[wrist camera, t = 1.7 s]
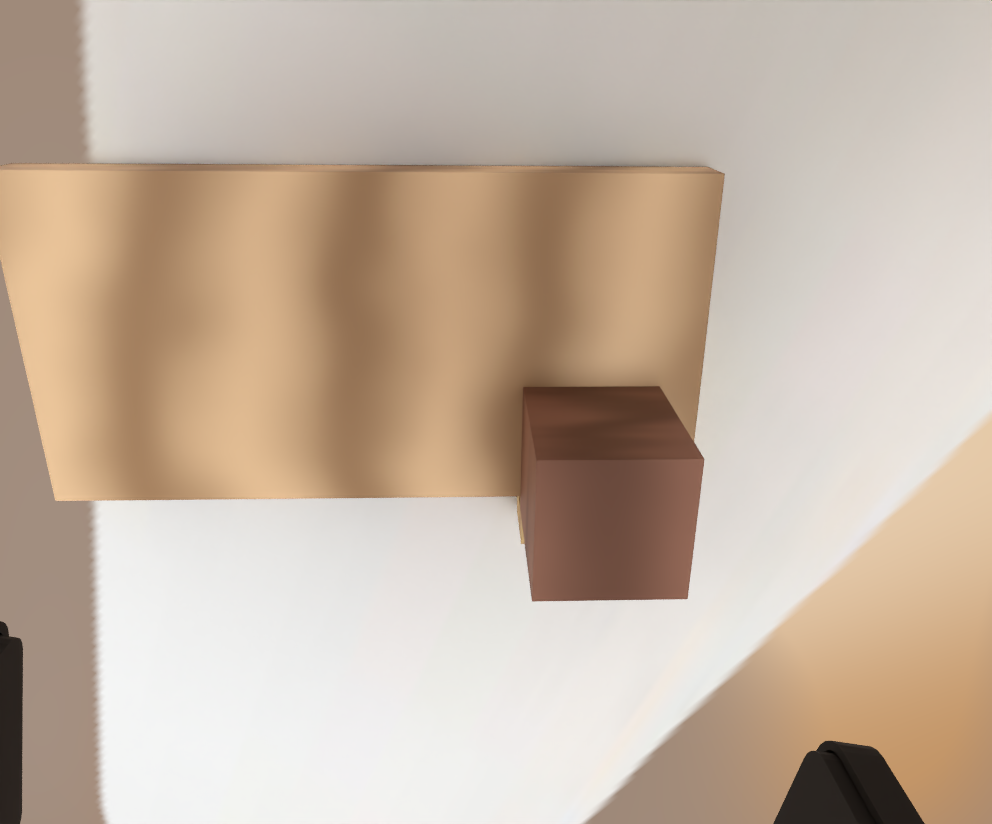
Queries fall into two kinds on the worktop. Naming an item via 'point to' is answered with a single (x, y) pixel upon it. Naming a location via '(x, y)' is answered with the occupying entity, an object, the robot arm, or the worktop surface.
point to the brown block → (607, 494)
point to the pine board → (341, 317)
